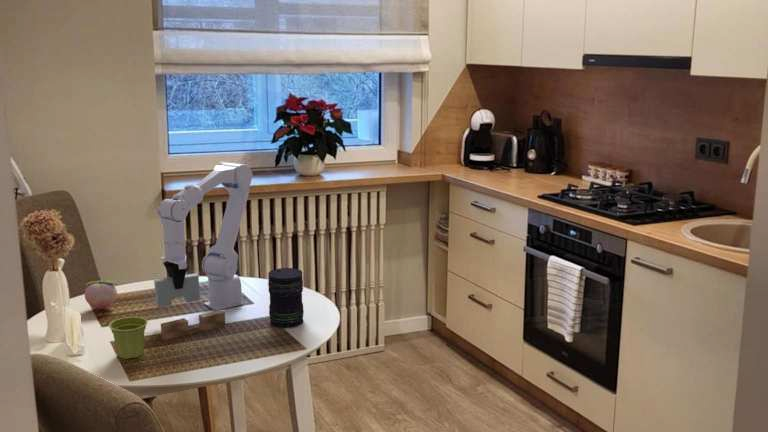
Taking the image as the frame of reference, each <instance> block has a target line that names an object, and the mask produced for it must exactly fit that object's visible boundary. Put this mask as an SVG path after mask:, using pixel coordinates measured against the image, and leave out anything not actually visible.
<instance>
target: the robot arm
mask: <svg viewBox="0 0 768 432" xmlns="http://www.w3.org/2000/svg"><path fill="white" fill-rule="evenodd" d="M253 176H254V175H253V172H252V170H251V168H250V166H249V165H248V164H246V163H233V162H227V161H220V162H219V163H217V165H214V167H213V170H212V171H210V173H208V174H207V175H206V176H205V177H204V178H203V179H202V180H200V181H199V182H198V183H197V184H195V185H194V184H186V185H185V186H184V187H183V189H182V190H180V191H179V192H178V193H174V194H173V195H172V197H171V198H165V199H163V200H162V201H161V202H160V203H159V205H158V209H157V211H156V213H157V215H158V216H159V218H160V221H161V224H162V233H163V245H164V247H163V248H164V249H163V250H164V256H161V257H160V260H161V261H162V264H163V266H164V267H165V269H166V272H167V275H168V277H172V279H173V284H174V287H175V289H182V288H183V284H184V279H185V275H187V272H188V270H189V267H190V265H189V263H187V254H186V252H187V251H186V238H185V235H186V234H185V220H186V218H187V216H188V214H189V212H190V211H191V210H192V209H193V208H194V207H196V206H197V205H198V204H200V203H201V202H202V201H203V199H204V195H205V194H207V193H209V192H210V191H212V190H213V189H215V188H216V187H218V186H219V185H222V186H223V188H224V189H225V190H226V191H227V193H228V195H229V197H228V201H227V204H226V208H225V211H224V214H223V219H222V220H221V225H220V228H219V232H218V236H217V239H216V242H215V244H214V245H212V246H211V247H209V248H208V250H207V253H206V255H205V256H204V257H203V259H202V260H201V261H202V262H201V269H202V271H203V273H205V275H206V276H205V277H207V282H208V283H207V284H208V286H207V287H208V299H209V300H208V301H206V302H203V305H205V306H207V307H208V308H210V309H212V310H214V311H217V310H225V309H229V308H234V307H236V306H237V307H238V306H241V305H243V304H244V302H243V296H242V295H243V294H242V293H243V292H242V281H241V278H240V277H239V275H238V274H236V273H237V271H238V261H239V260H238V259H239V255H238V253H237V252H236V251H235V249H234V248H235V244H236V242H237V241H236V240H237V238H238V235H239V234H238V233H239V230H240V226H241V223H242V219H243V217H244V216H243V215H244V212H245V209H246V205H247V202H248V199H249V195H250V186H251V184H252V179H253Z"/></svg>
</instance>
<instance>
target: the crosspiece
mask: <svg viewBox="0 0 768 432" xmlns="http://www.w3.org/2000/svg"><path fill="white" fill-rule="evenodd" d="M153 281H154V284H153V285H154V294H155V295H154V297H155V305H156V307H157V308H161V307H169V306H172V302H173V301H172V299H176V298H181V297H183V300H184V302H186V303H191V302H197V301H198V302H199V301H200V299H201V297H200V296H201V295H200V279H199V275H198V273H188V274H187V273H186V275H185V279H184V284H183V288H182V289H175V287H174V284H173V279H172V277H169V276H168V277H163V278H156V279H153Z"/></svg>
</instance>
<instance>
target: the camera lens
mask: <svg viewBox="0 0 768 432" xmlns="http://www.w3.org/2000/svg"><path fill="white" fill-rule="evenodd" d="M267 273H268V283H267V284H268V285H267V286H268V293H269V305H268V306H269V307H268V310H269V311H268V312H269V313H268V315H269V316H268V317H269V324H270V326H272V327H274V328H276V329H293V328H297V327H301V326H302V325H303V324H304V311H305V310H304V303H303V289H304V288H303V287H304V282H303V271H302V270H300V269H298V268H292V267H282V268H280V267H279V268H276V269H272V270H270V271H268V272H267Z"/></svg>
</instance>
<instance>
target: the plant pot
mask: <svg viewBox="0 0 768 432" xmlns="http://www.w3.org/2000/svg"><path fill="white" fill-rule="evenodd" d="M147 325H148V320H147V319H146V318H144V317H141V316H125V317H121V318H118V319H117V318H116V319H114V320H113V321H110V323H109V324H108V327H109V329H110V331H111V333H112V334H113V339H114V344H115V348H116V352H117V357H119V359H123V360H129V359H132V358H133V359H136V358H138V357H141V356H142V355H143V352H144V341H145V332H146V331H145V330H146V329H147V327H146V326H147Z"/></svg>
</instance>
